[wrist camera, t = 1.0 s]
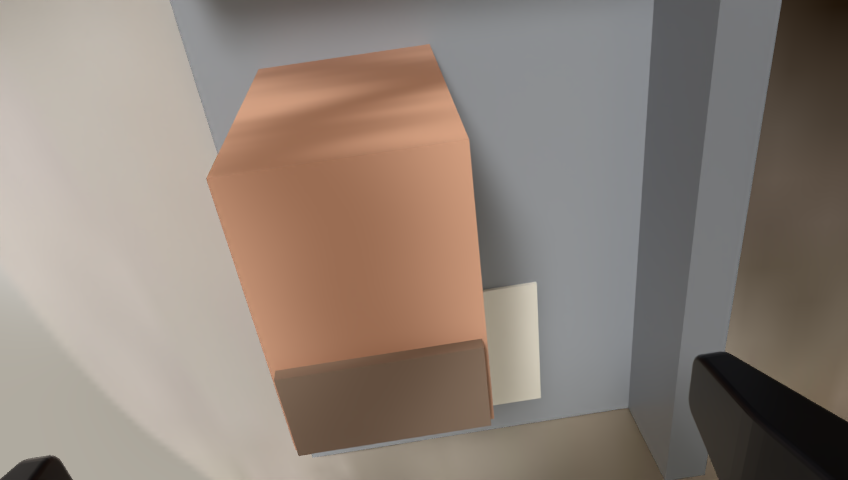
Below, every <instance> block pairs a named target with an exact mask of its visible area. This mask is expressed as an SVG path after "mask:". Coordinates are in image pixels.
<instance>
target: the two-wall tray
mask: <svg viewBox="0 0 848 480" xmlns="http://www.w3.org/2000/svg"><path fill="white" fill-rule="evenodd" d="M781 2H782V0H170V3H171V6H172V9H173V13H174V16H175V19H176V22H177V25H178V29H179V32H180V35H181V38H182V41H183V45H184V48H185V51H186V54H187V57H188V61H189V64H190V67H191V70H192V73H193V77H194V80H195V83H196V86H197V89H198V92H199V96H200V99H201V102H202V105H203V108H204V112H205V115H206V118H207V121H208V124H209V128H210V131H211V134H212V137H213V140H214V144H215V147H216V150H217V153H219V151H220V149H221V147H222V145H223V143H224V141H225V138H226V136H227V134H228V132H229V130H230V128H231V126H232V124H233V122H234V120H235V118H236V115H237V113H238V111H239V109H240V107H241V105H242V103H243V101H244V99H245V97H246V95H247V92H248V90H249V88H250V86H251V84H252V82H253V80H254V78H255V76H256V74H257V72H258V69H263V68H270V67H277V66H283V65H290V64H297V63H304V62H311V61H317V60H324V59H331V58H338V57H345V56H351V55H358V54H365V53H372V52H379V51H385V50H392V49H399V48H406V47H413V46H419V45H426V44H430V46H431V49H432V51H433V54H434V56H435V58H436V61H437V63H438V66H439V68H440V70H441V73H442V75H443V78H444V80H445V82H446V85H447V87H448V90H449V92H450V94H451V97H452V99H453V102H454V104H455V106H456V109H457V111H458V114H459V116H460V118H461V121H462V123H463V126H464V128H465V131H466V133H467V135H468V138H469V143H470V154H471V165H472V176H473V188H474V199H475V210H476V221H477V232H478V243H479V254H480V266H481V277H482V288H483V299H484V310H485V321H486V332H487V343H488V355H489V366H490V377H491V388H492V399H493V410H494V419H491V426H485V427H478V428H472V429H466V430H460V431H453V432H447V433H441V434H434V435H428V436H422V437H415V438H409V439H403V440H396V441H390V442H384V443H377V444H371V445H365V446H358V447H352V448H346V449H339V450H333V451H327V452H320V453H314V454H312V457H319V456H326V455H332V454H338V453H345V452H351V451H357V450H364V449H370V448H376V447H383V446H389V445H395V444H402V443H408V442H414V441H420V440H427V439H433V438H439V437H446V436H452V435H458V434H465V433H471V432H477V431H484V430H490V429H496V428H503V427H509V426H515V425H522V424H528V423H534V422H541V421H547V420H553V419H560V418H566V417H572V416H578V415H585V414H591V413H597V412H604V411H610V410H616V409H623V408H629V410H630V412H631V414H632V416H633V418H634V420H635V422H636V424H637V426H638V428H639V430H640V432H641V434H642V436H643V438H644V440H645V442H646V444H647V446H648V448H649V450H650V452H651V454H652V456H653V458H654V460H655V462H656V464H657V466H658V468H659V470H660V472H661V474H662V476H663V478H664V480H676V479H682V478H688V477H694V476H701V475H705V469H706V463H707V457H708V452H707V450H706V447H705V445H704V443H703V440H702V438H701V436H700V433H699V431H698V428H697V426H696V424H695V421H694V419H693V416H692V414H691V411H690V407H689V400H688V397H689V388H690V380H691V372H692V364H693V360H694V359H695V357H696V356H698V355H700V354H707V353H713V352H720V351H722V352H725V346H726V340H727V334H728V328H729V322H730V316H731V310H732V303H733V297H734V291H735V285H736V279H737V273H738V266H739V260H740V254H741V248H742V242H743V236H744V230H745V223H746V217H747V211H748V205H749V199H750V193H751V186H752V180H753V174H754V168H755V162H756V156H757V150H758V143H759V137H760V131H761V125H762V119H763V113H764V106H765V100H766V94H767V88H768V82H769V76H770V70H771V63H772V57H773V51H774V45H775V39H776V33H777V26H778V20H779V14H780V8H781Z"/></svg>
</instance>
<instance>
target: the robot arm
mask: <svg viewBox="0 0 848 480" xmlns="http://www.w3.org/2000/svg"><path fill="white" fill-rule="evenodd" d="M688 400H689V407H690V411H691V414H692V416H693V419H694V421H695V424H696V426H697V428H698V431H699V433H700V436H701V438H702V440H703V443H704V445H705V447H706V450H707V452H708V455H709V457H710V459H711V462H712V464H713V467H714V469H715V471H716V474H717V476H718V479H719V480H848V422H847V421H845V420H844V419H842V418H840V417H838V416H837V415H835V414H833V413H832V412H830V411H828V410H826V409H825V408H823V407H821V406H819V405H818V404H816V403H814V402H813V401H811V400H809V399H807V398H806V397H804V396H802V395H800V394H799V393H797V392H795V391H794V390H792V389H790V388H788V387H787V386H785V385H783V384H781V383H780V382H778V381H776V380H775V379H773V378H771V377H769V376H768V375H766V374H764V373H763V372H761V371H759V370H757V369H756V368H754V367H752V366H750V365H749V364H747V363H745V362H744V361H742V360H740V359H738V358H737V357H735V356H733V355H731V354H729V353H727V352H722V351H720V352H713V353H707V354H700V355H698V356H696V357H695V359H694V360H693V364H692V372H691V380H690V388H689V397H688ZM0 480H73V479H72V478H71V476H70V475H69V473H68V471H67V470H66V468H65V466H64V465H63V463H62V462H61V460H60V459H59V458H57V457H55V456H51V455H49V456H43V457H36V458H30V459H26V460H23V461H21V462H20V463H19V464H17V465H16V466H15V467H14V468H13V469H11V470H10V471H9V472H8V473H7V474H6V475H4V476H3V477H2V478H1V479H0Z"/></svg>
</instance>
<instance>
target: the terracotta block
mask: <svg viewBox="0 0 848 480" xmlns="http://www.w3.org/2000/svg"><path fill="white" fill-rule="evenodd" d="M206 179H207V182H208V185H209V189H210V192H211V195H212V198H213V201H214V204H215V207H216V210H217V213H218V216H219V219H220V222H221V225H222V228H223V231H224V234H225V237H226V240H227V243H228V246H229V249H230V252H231V255H232V258H233V261H234V264H235V267H236V270H237V273H238V276H239V279H240V282H241V286H242V289H243V292H244V295H245V298H246V301H247V304H248V307H249V310H250V313H251V316H252V319H253V322H254V325H255V328H256V331H257V334H258V337H259V340H260V343H261V346H262V349H263V352H264V355H265V358H266V361H267V364H268V367H269V370H270V373H271V376H272V379H273V382H274V386H275V389H276V392H277V395H278V398H279V401H280V404H281V407H282V410H283V413H284V416H285V419H286V422H287V425H288V428H289V431H290V434H291V437H292V440H293V443H294V446H295V449H296V450H297V452H298V455H299V456H301V455H308V454H314V453H320V452H327V451H333V450H339V449H346V448H352V447H358V446H365V445H371V444H377V443H384V442H390V441H396V440H403V439H409V438H415V437H422V436H428V435H434V434H441V433H447V432H453V431H460V430H466V429H472V428H478V427H485V426H491V419H494V410H493V399H492V388H491V377H490V366H489V355H488V343H487V332H486V321H485V310H484V299H483V288H482V277H481V266H480V254H479V243H478V232H477V221H476V210H475V199H474V188H473V176H472V165H471V154H470V143H469V138H468V135H467V133H466V131H465V128H464V126H463V123H462V121H461V118H460V116H459V114H458V111H457V109H456V106H455V104H454V102H453V99H452V97H451V94H450V92H449V90H448V87H447V85H446V82H445V80H444V78H443V75H442V73H441V70H440V68H439V66H438V63H437V61H436V58H435V56H434V54H433V51H432V49H431V46H430V44H426V45H419V46H413V47H406V48H399V49H392V50H385V51H379V52H372V53H365V54H358V55H351V56H345V57H338V58H331V59H324V60H317V61H311V62H304V63H297V64H290V65H283V66H277V67H270V68H263V69H258V72H257V74H256V76H255V78H254V80H253V82H252V84H251V86H250V88H249V90H248V92H247V95H246V97H245V99H244V101H243V103H242V105H241V107H240V109H239V111H238V113H237V115H236V118H235V120H234V122H233V124H232V126H231V128H230V130H229V132H228V134H227V136H226V138H225V141H224V143H223V145H222V147H221V149H220V151H219V153H218V155H217V157H216V159H215V161H214V164H213V166H212V168H211V170H210V172H209V174H208V176H207V178H206Z"/></svg>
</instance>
